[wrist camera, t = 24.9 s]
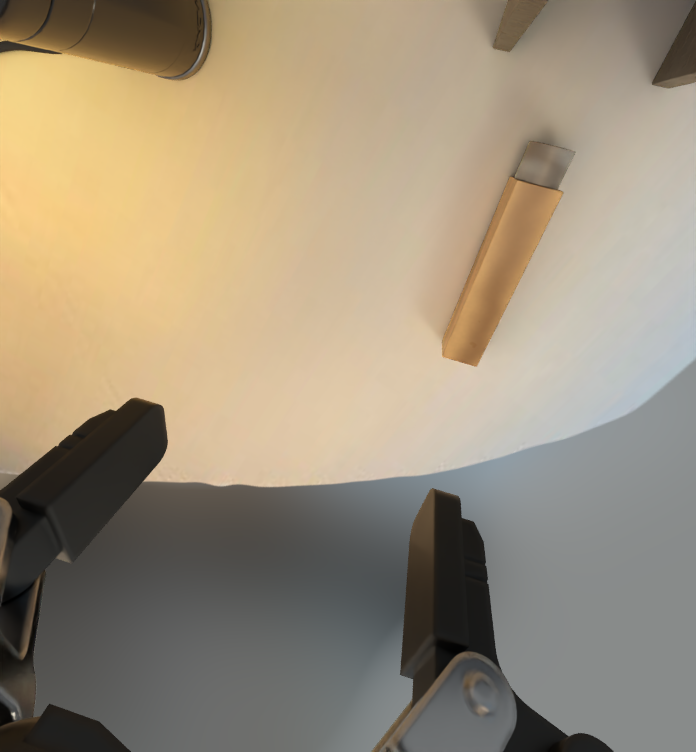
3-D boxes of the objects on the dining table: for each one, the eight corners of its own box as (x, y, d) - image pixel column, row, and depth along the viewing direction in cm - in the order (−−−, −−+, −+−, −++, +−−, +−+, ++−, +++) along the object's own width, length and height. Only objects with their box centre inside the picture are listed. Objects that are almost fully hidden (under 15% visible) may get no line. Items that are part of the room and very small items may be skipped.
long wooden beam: (441, 340, 47) (441, 356, 43) (524, 140, 34) (533, 140, 31) (474, 350, 46) (476, 367, 43) (568, 152, 34) (583, 153, 31)
